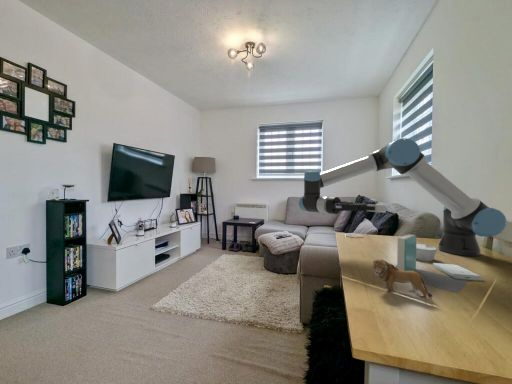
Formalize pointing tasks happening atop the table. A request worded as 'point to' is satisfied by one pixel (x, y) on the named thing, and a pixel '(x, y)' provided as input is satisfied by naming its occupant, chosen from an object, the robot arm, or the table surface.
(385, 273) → the lion figurine
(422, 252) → the ramekin
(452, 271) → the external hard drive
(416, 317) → the table surface
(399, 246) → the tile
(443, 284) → the mat
